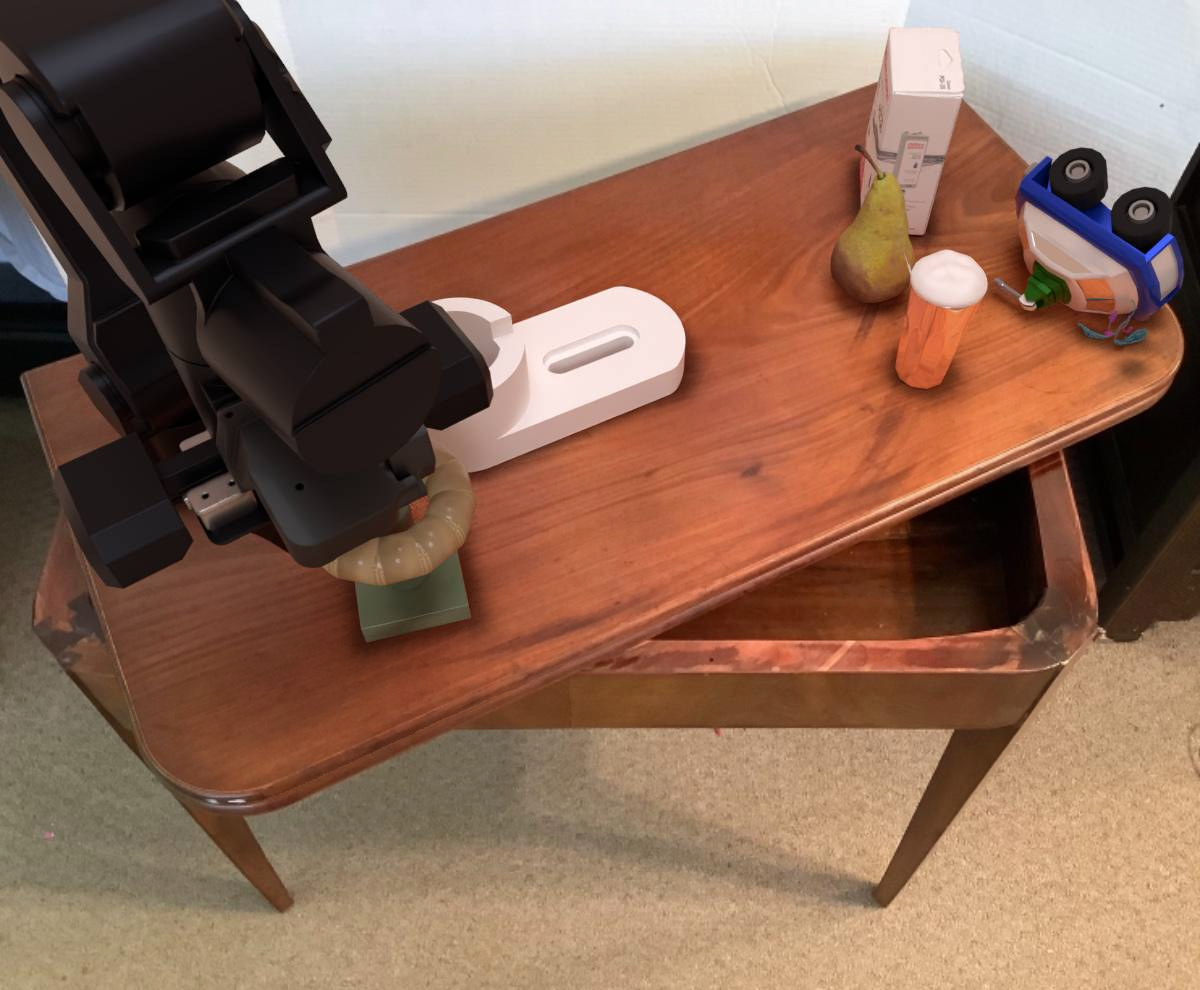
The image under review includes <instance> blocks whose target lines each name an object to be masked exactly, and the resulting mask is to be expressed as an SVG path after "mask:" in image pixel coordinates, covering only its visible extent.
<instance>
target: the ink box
mask: <svg viewBox="0 0 1200 990" xmlns="http://www.w3.org/2000/svg"><path fill="white" fill-rule="evenodd" d="M962 63H963V59H962V54H961V44H960V36H959V32H958V30H956V29H954V28H949V27H948V28H945V27H941V28H940V27H897V26H896V27H893V26H892V27H890V28H889V29H888V35H887V39H886V44H885V49H884V53H883V58H882V62H881V66H880V71H879V76H878V81H877V85H876V89H875V90H876V91H875V94H874V99H873V104H872V107H871V108H872V109H871V113H870V117H869V121H868V125H867V130H866V134H865V139H864V144H863V147H864V148H865V149H866V151H867V152H868V153H869V155H870V156H871V158H872V160H873V161H874V163H875V164H876V166H877V167H878V168H879V169H880V170H881V171H882V172H884V171H885V172H888V173H890V174H892V175H893V176H894V177H895V178H896V179H897V181H898V182H899V184H900V187H901V190H902V192H903V195H904V199H905V208H906V213H907V219H908V233H909V235H914V236H915V235H916V236H924V235H925V233H926V230H927V227H928V224H929V220H930V217H931V212H932V209H933V205H934V201H935V198H936V195H937V190H938V187H939V184H940V179H941V176H942V172H943V168H944V166H945V165H944V164H945V161H946V157H947V154H948V151H949V146H950V144H951V140H952V136H953V133H954V129H955V126H956V122H957V119H958V115H959V112H960V109H961V104H962V101H963V98H964V91H965V89H966V88H965V82H964V79H965V77H964V70H963V66H962ZM876 175H877V173H876V171H875V170H874V168H873V167H872V166H871V164H870V163H869V161H868V160H867V159H866V158H865V157H864V156H863V155H862V154H861V158H860V162H859V186H860V187H859V189H860V191H859V192H860V208H861V207H862V205H863V202H864V199H865V197H866V194H867V192H868V190H869V189H870V187H871V185H872V183H873V180H874V178H875V177H876Z"/></svg>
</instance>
